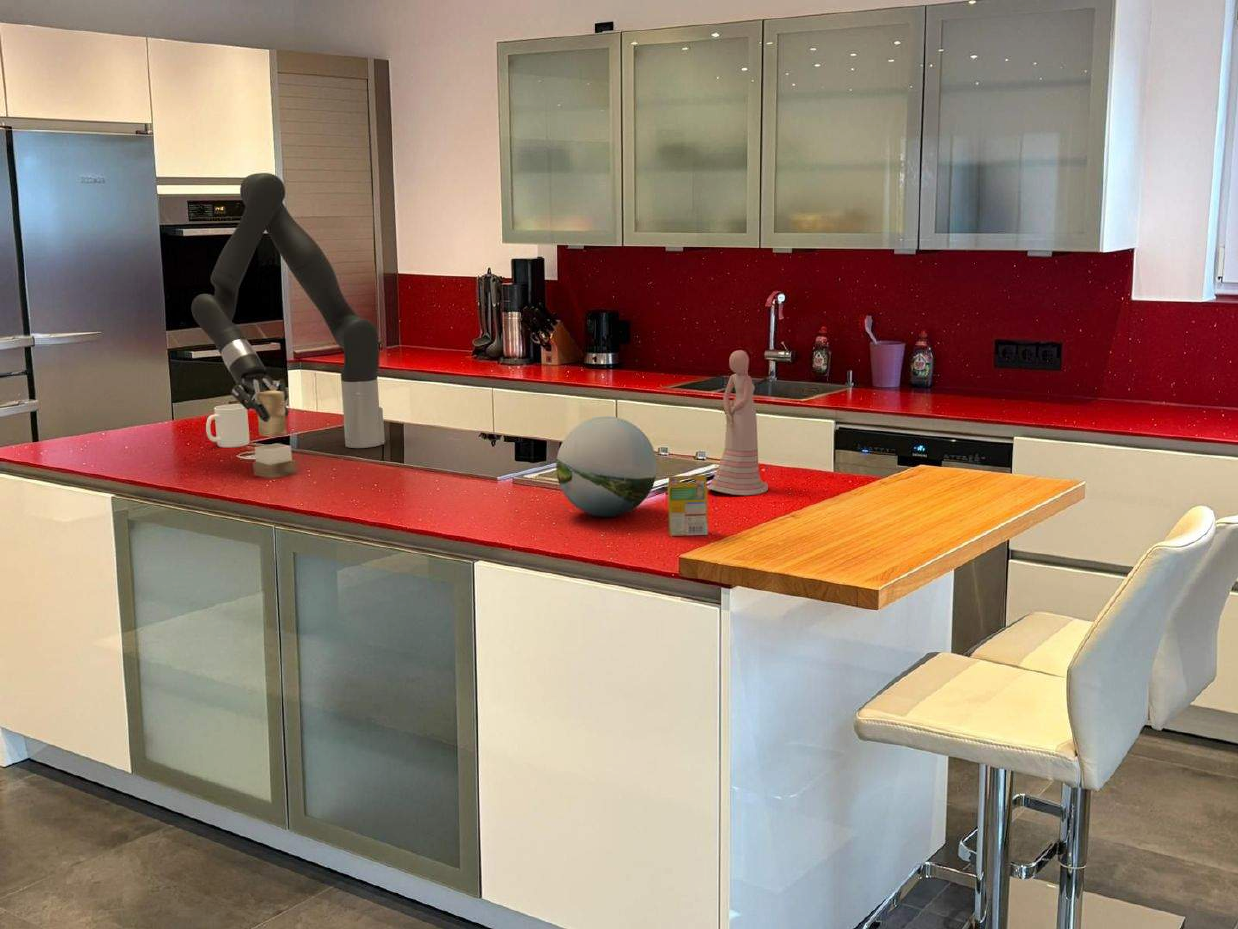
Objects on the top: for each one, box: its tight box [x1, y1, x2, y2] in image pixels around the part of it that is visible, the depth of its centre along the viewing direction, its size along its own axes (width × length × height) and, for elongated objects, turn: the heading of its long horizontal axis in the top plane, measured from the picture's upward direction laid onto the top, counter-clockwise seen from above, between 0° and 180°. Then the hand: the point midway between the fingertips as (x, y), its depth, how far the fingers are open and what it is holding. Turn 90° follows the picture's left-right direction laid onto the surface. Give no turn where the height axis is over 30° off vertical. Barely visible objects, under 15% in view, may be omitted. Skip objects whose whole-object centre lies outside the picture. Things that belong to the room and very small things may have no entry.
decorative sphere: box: [555, 416, 658, 518], centre depth 269 cm, size 20×20×20 cm
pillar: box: [257, 391, 288, 438], centre depth 316 cm, size 4×4×10 cm
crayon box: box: [667, 474, 709, 538], centre depth 254 cm, size 7×3×12 cm, turn 92°
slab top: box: [254, 442, 293, 465], centre depth 318 cm, size 6×6×4 cm
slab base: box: [252, 459, 298, 480], centre depth 319 cm, size 7×7×4 cm
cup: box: [205, 403, 251, 449], centre depth 355 cm, size 8×12×10 cm
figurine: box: [707, 350, 769, 496], centre depth 287 cm, size 13×13×30 cm
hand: (276, 418), depth 315 cm, fingers closed on pillar, 4 cm apart
